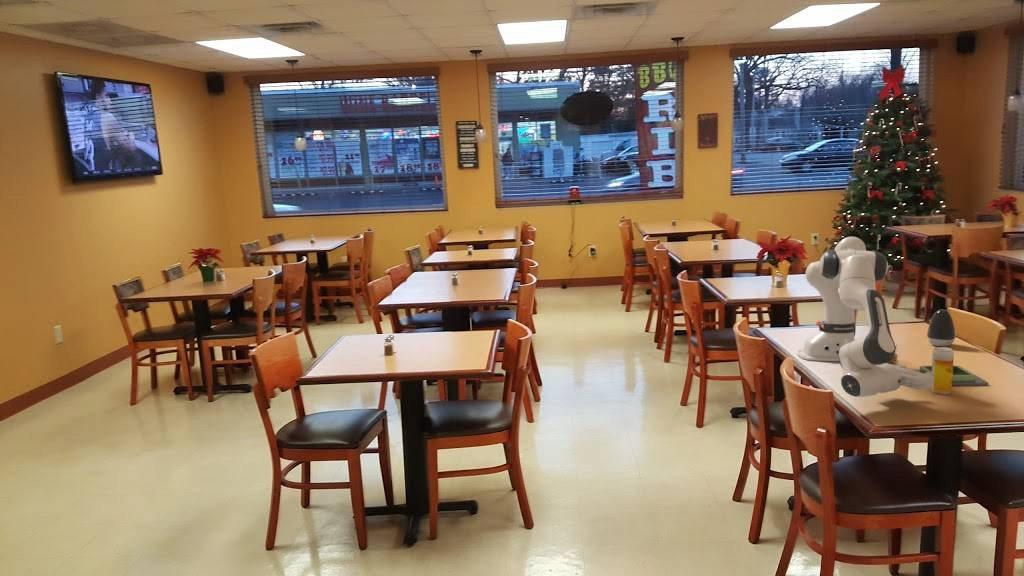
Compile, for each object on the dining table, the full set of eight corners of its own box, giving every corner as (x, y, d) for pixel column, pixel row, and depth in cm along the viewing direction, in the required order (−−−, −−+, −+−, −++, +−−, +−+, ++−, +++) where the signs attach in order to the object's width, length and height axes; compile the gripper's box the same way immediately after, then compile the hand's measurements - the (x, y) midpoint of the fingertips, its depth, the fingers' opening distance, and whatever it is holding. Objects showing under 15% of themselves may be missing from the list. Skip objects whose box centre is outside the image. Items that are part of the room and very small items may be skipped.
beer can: (954, 395, 244) (956, 351, 241) (934, 394, 245) (936, 351, 242) (947, 389, 250) (949, 346, 247) (928, 389, 251) (930, 346, 248)
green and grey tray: (926, 385, 254) (926, 377, 254) (907, 372, 270) (907, 364, 270) (988, 385, 252) (988, 376, 251) (965, 372, 267) (966, 364, 267)
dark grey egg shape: (951, 342, 309) (953, 307, 306) (957, 348, 299) (959, 312, 296) (924, 341, 312) (926, 306, 309) (929, 347, 302) (931, 311, 300)
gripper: (915, 376, 226) (947, 369, 232) (861, 361, 245) (891, 355, 250) (914, 396, 227) (946, 389, 233) (860, 379, 246) (890, 373, 251)
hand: (917, 371), depth 242 cm, fingers open, 8 cm apart
